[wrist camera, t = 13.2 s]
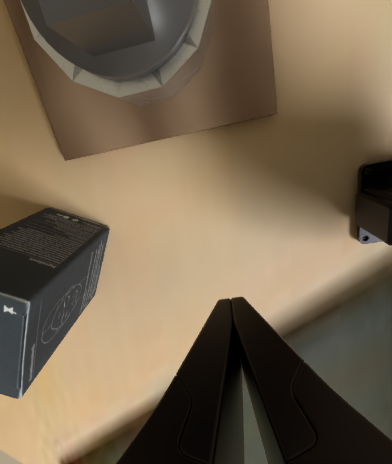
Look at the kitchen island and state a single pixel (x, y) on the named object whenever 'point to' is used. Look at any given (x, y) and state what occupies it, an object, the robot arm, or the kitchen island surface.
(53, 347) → the box
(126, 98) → the toothed hollow cylinder
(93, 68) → the lens cap
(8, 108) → the kitchen island surface
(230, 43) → the stand
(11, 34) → the kitchen island surface
